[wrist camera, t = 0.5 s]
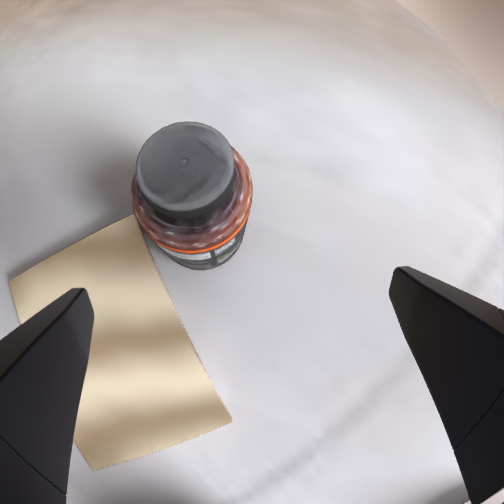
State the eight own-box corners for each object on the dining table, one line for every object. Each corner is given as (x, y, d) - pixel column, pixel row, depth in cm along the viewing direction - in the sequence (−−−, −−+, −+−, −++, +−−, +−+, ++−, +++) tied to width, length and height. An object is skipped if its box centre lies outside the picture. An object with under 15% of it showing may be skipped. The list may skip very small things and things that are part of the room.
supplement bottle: (184, 179, 24) (161, 83, 13) (256, 212, 24) (285, 131, 13) (146, 250, 23) (86, 196, 11) (221, 286, 23) (220, 261, 12)
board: (231, 417, 21) (231, 422, 20) (96, 465, 19) (92, 470, 18) (136, 217, 23) (133, 213, 22) (14, 282, 21) (8, 281, 20)
